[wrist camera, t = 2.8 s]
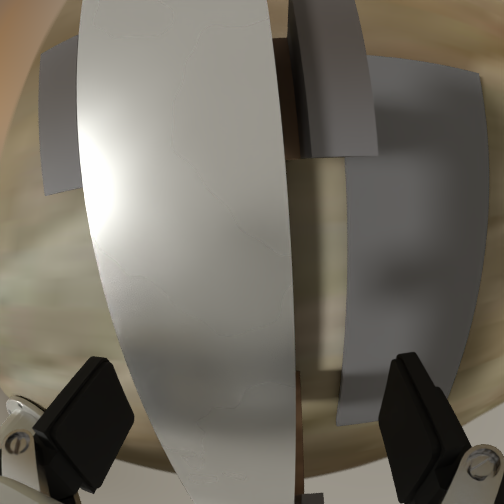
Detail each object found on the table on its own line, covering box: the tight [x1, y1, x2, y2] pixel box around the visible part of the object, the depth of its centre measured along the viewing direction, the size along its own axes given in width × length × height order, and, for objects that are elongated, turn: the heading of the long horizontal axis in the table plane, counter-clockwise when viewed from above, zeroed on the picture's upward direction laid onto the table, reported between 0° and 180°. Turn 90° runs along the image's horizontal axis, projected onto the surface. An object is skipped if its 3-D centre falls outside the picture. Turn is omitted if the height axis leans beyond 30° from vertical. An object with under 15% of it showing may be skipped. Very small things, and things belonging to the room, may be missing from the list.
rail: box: [77, 0, 296, 504], centre depth 7 cm, size 24×3×3 cm, turn 4°
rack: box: [39, 0, 378, 504], centre depth 12 cm, size 20×6×12 cm, turn 4°
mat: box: [336, 55, 489, 426], centre depth 17 cm, size 26×10×1 cm, turn 4°
